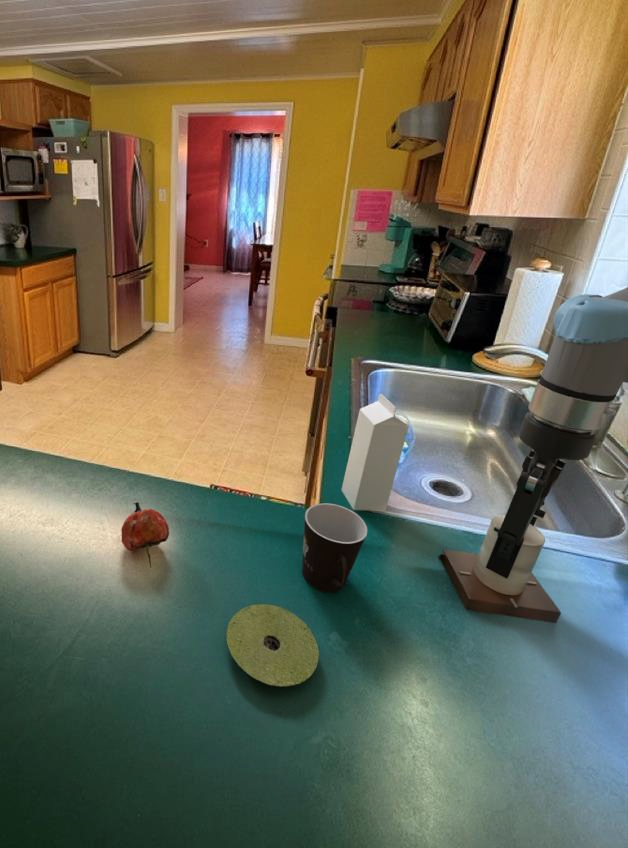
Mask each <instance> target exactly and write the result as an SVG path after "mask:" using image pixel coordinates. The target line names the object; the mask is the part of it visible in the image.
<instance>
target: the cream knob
mask: <svg viewBox="0 0 628 848" xmlns="http://www.w3.org/2000/svg"><path fill="white" fill-rule="evenodd" d="M505 516H506V514H499V515H495V516H493V517H492V518H491V520H490V523H489V525H488V527H487V531H486V534H485V536H484V539H483V541H482V544H481V546H480V549H479V552H478V553H477V554H478V557H477V559H476V562H475V565H474V568H473V570H474V573H475V575H476V577H477V578H478V579H479V580H480V581H481V582H482V583H483V584H485V585H486V586H487V587H489V588H491V589H493V590H495V591H497V592H499V593H502V594H506V595H519V594H521V593H522V592H523V590H524V588H525V586H526V583H527V581H528V579H529V577H530V574H531V572H532V573H533V570H534V568H535V565H536V564H537V561H538V559H539V557H540V554H541V552H542V549H543V547H544V545H545V543H546V537H545V535H544V534H543V532H541V530H539V529H538V528H537V527H536V526H535V525H534V526H533V525H531V524H529V526H528V528H527V531H526V533H525V535H524V542H523V544H522V546H521V549H520V551H519V553H518V556H517V558H516V560H515V563H514V565H513V567H512V570H511V572H510V574H509V577H508V578H507V579H506V578H504V577H502V576H500V575H499V574H497V573H495V572H493V571H491V570H489V569H487V568H486V565H487V563H488V560H489V558H490V555H491V553H492V550H493V548H494V545H495V543H496V540H497V538H498V535H497V534H498V533H497V532H496V531H494V528H495V527H496V526H497V527H499V528H501V525H502V523H503V521H504V518H505Z"/></svg>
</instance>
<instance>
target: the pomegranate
mask: <svg viewBox="0 0 628 848" xmlns="http://www.w3.org/2000/svg"><path fill="white" fill-rule="evenodd" d="M133 505H135V510H134V512H132V513H131V514H130V515H129V516H127V517H126V519H125V520H124V521H123V523H122V526H121V530H120V532H121V543H122V545H123V546H124V548H125V549H126V550H127V551H128V552H130V553H134V552H138V551H140V549H145V551H146V554H147V557H148V562H149V567H150V568H152V562H151V554H150V552H149V548H152V547H156V546H159V545H160V544H161V543H164V542H167V541H168V539H169V536H170V527H169V524H168V522H167V520H166V518H165V517H164V516H163V514H161V513H160V512H159V511H157V510H155V509H152V508H149V509H146V508H145V509H141V508H142V507H141V506H140V502H138V501H137V502H133Z"/></svg>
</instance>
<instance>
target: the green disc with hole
mask: <svg viewBox="0 0 628 848" xmlns="http://www.w3.org/2000/svg"><path fill="white" fill-rule="evenodd" d="M226 643H227V648H228V650H229V653H230V655H231V657H232V658H233V661H235V662H236V663H237V665H238V666H239V668H241V669H242V670H243V672H246V674H248V675H249V676H250V677H251V678H253V679H255V680H257V681H259V682H261V683H263V684H266V685H268V686H275V687H290V686H296V685H300V684H301V683H304V682H305V681H307V680H308V679H309V678H310V677H311V676H312V675H313V673H314V672H315V671H316V669H317V666H318V663H319V657H320V656H319V655H320V652H319V645H318V643H317V639H316V638H315V636H314V634H313V631H312V630H311V629H310V628H309V626H308V625H307V623H306V622H305V621H303V619H301V618H300V617H299V616H297V615H296V614H295V613H293V612H292V611H289V610H288V609H286V608H284V607H281V606H277V605H274V604H265V603H264V604H263V603H259V604H251V605H249V606H245V607H243V608H241V609H240V610H238V611H237V612H236V613H234V615H232V617H231V619H230V620H229V623H228V625H227V628H226Z"/></svg>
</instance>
